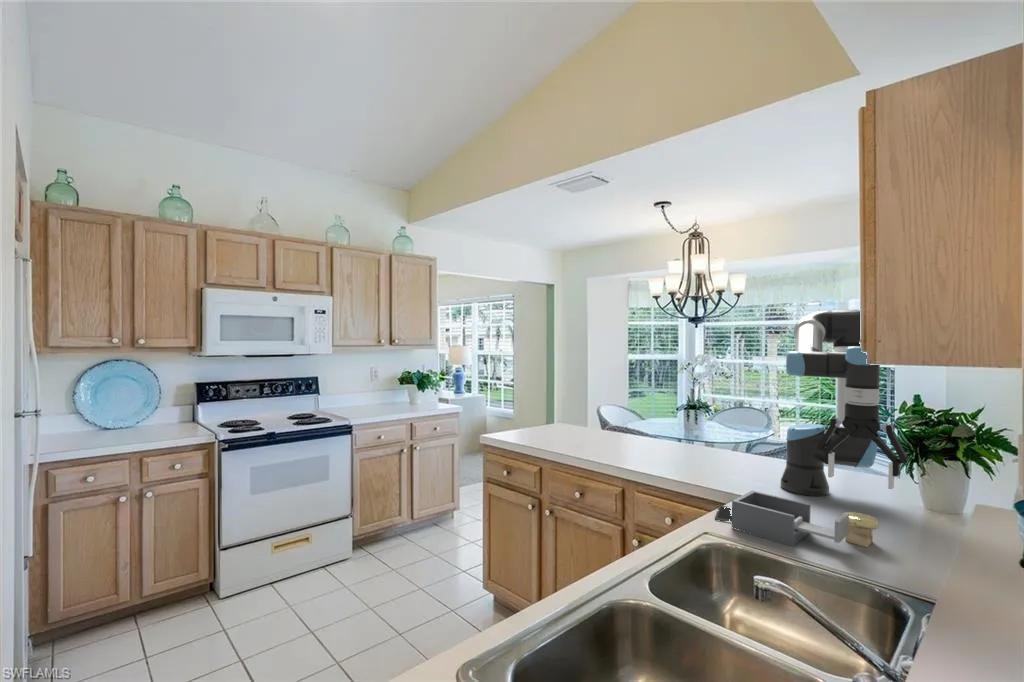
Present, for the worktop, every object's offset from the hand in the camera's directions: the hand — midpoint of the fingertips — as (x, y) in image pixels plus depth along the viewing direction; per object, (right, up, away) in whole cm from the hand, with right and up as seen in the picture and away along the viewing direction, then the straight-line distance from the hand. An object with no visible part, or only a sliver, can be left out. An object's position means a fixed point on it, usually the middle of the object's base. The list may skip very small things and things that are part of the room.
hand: (860, 482), depth 134 cm
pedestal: (0, -16, 0) cm, 16 cm away
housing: (-20, -16, +8) cm, 27 cm away
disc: (0, -11, 0) cm, 11 cm away
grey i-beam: (-13, -13, 0) cm, 18 cm away
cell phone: (-27, -16, +19) cm, 37 cm away
